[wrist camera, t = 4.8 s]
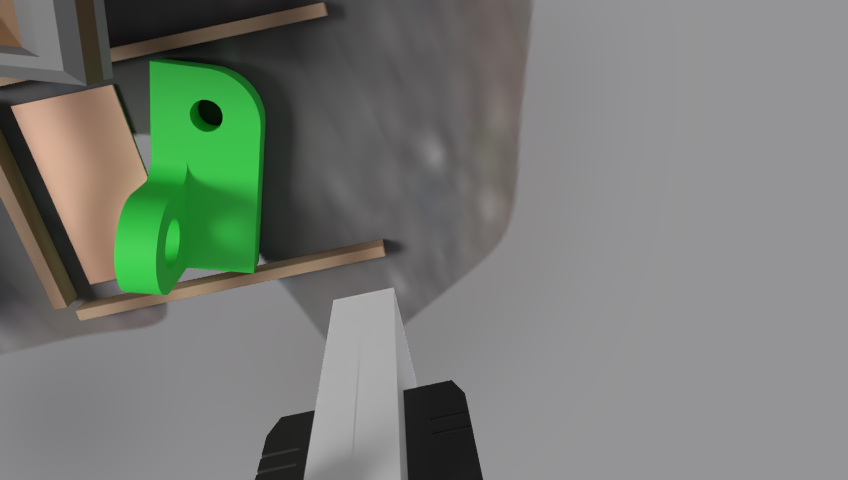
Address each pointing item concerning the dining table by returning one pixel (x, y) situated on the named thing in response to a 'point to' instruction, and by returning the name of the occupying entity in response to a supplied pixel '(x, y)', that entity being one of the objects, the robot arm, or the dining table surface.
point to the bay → (118, 182)
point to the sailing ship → (55, 41)
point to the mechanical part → (194, 181)
